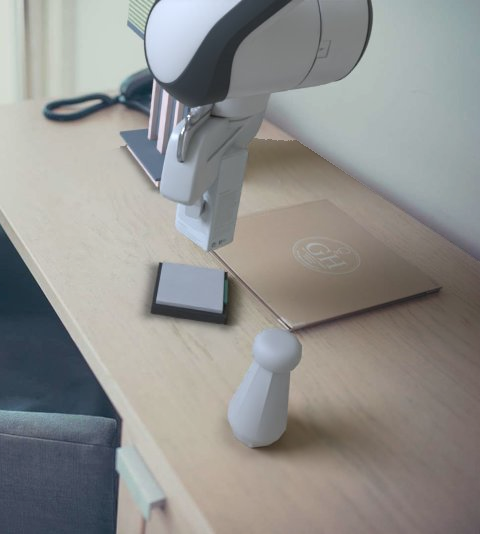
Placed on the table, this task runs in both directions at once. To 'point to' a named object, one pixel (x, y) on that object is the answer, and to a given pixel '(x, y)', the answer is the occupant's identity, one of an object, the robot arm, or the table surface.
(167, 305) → the scale
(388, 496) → the table surface
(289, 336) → the salt shaker
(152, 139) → the desk lamp
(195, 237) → the cosmetic box
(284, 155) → the table surface
